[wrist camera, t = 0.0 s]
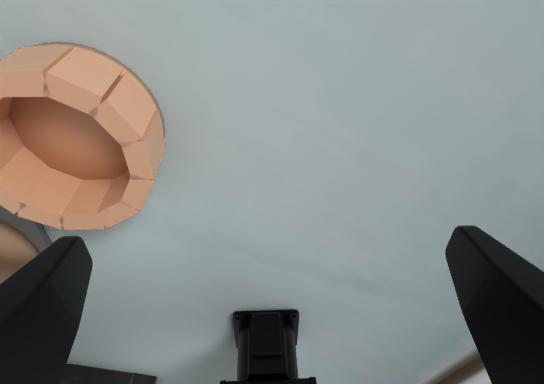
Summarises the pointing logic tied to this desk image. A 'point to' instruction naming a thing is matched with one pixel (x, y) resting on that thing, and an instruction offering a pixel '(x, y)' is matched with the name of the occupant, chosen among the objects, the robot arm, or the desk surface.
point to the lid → (14, 250)
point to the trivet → (27, 228)
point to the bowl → (75, 137)
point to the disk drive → (102, 376)
